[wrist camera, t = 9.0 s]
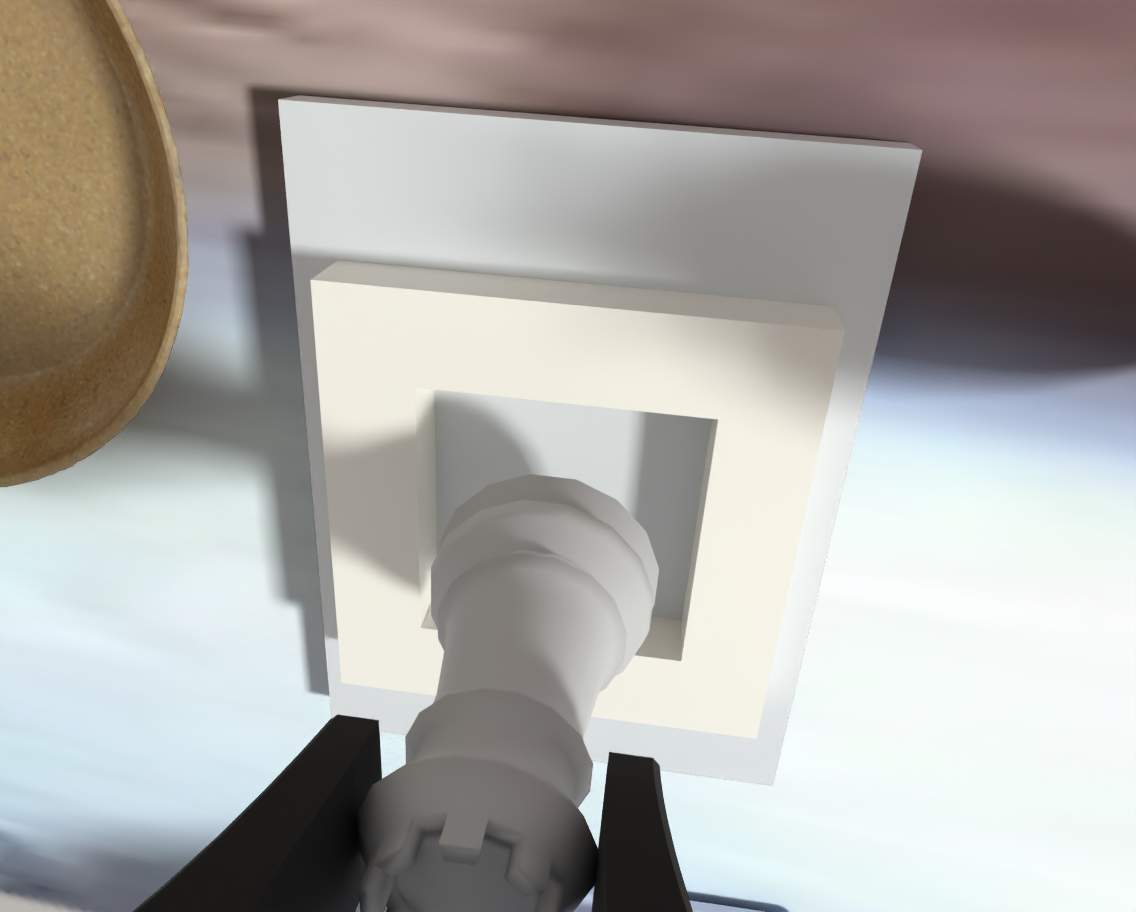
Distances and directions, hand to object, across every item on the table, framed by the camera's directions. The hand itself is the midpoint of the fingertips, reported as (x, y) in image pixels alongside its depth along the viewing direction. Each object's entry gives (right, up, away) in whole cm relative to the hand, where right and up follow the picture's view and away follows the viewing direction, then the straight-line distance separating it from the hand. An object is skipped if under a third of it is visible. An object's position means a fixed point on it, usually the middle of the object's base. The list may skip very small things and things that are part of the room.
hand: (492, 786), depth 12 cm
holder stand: (+1, +4, +8) cm, 9 cm away
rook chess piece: (+1, +3, +6) cm, 6 cm away
